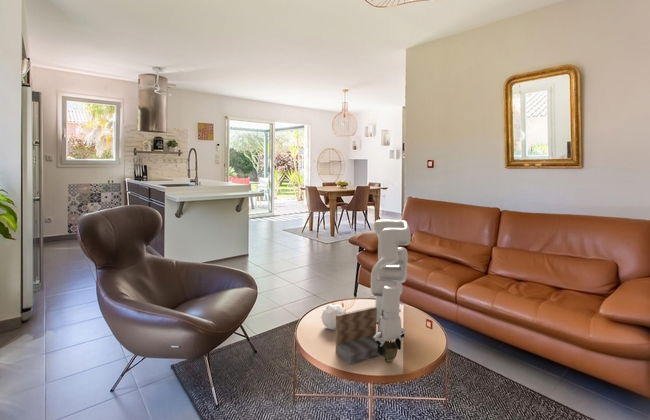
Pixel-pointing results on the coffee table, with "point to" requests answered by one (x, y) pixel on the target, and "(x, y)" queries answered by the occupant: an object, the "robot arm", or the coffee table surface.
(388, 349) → the cup
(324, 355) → the coffee table surface
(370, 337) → the board
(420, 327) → the coffee table surface
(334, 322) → the geodesic sphere
